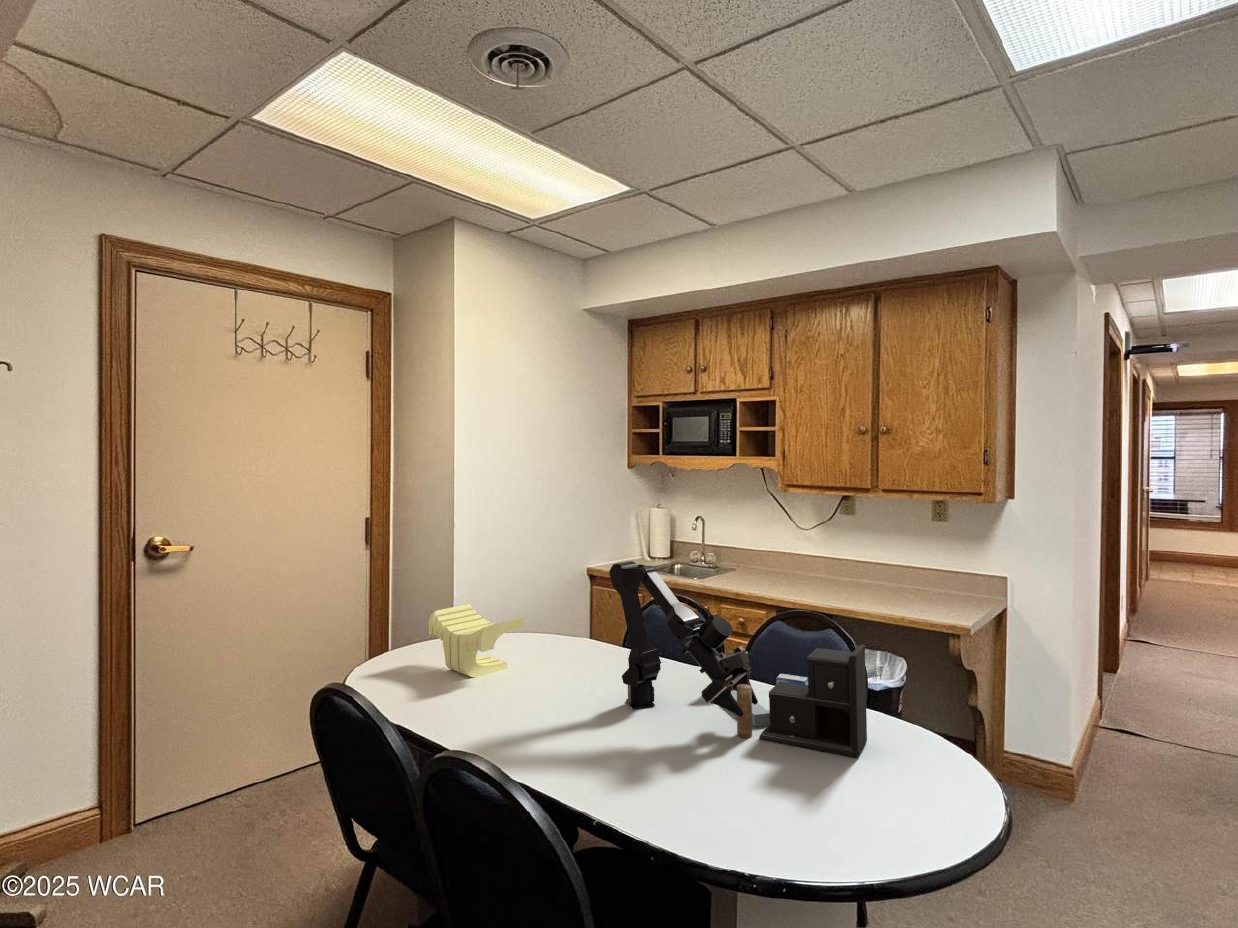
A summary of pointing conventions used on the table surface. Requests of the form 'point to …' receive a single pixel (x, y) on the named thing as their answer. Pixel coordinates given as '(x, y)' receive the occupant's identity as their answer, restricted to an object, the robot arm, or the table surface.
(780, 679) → the medicine box
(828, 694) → the black desk organizer
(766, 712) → the ridge bar
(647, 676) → the robot arm
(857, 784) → the table surface
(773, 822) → the table surface
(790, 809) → the table surface
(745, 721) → the walnut dowel
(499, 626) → the slatted curved stool
